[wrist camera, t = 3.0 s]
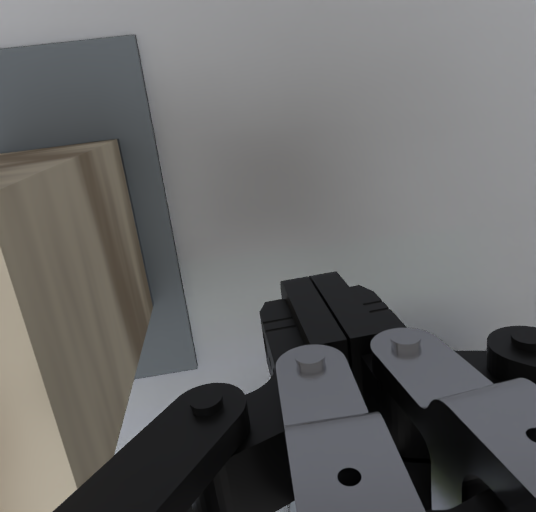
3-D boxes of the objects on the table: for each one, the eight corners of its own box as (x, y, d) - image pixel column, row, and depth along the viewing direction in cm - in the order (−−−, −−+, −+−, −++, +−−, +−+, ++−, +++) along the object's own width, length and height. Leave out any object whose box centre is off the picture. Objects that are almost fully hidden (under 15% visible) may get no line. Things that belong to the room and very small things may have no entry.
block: (118, 138, 20) (-16, 196, 8) (153, 304, 23) (92, 536, 11) (0, 153, 20) (-328, 237, 8) (50, 319, 23) (-137, 580, 10)
